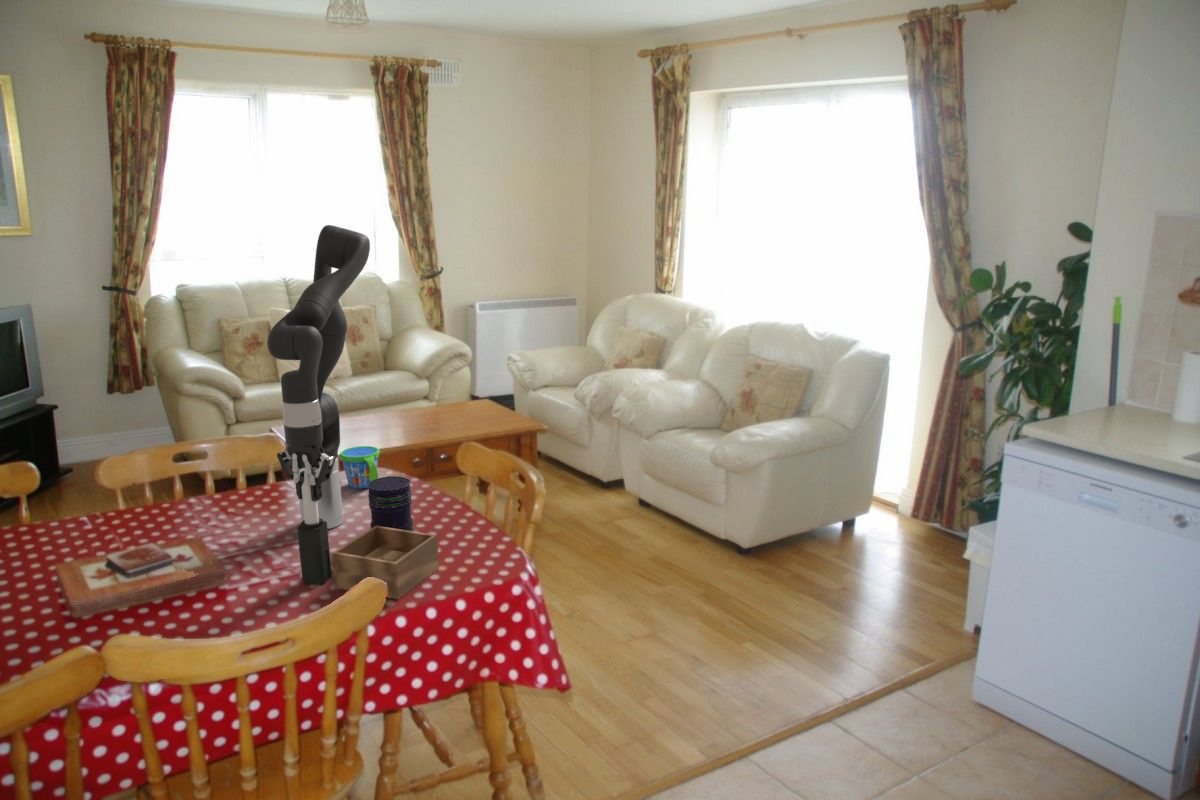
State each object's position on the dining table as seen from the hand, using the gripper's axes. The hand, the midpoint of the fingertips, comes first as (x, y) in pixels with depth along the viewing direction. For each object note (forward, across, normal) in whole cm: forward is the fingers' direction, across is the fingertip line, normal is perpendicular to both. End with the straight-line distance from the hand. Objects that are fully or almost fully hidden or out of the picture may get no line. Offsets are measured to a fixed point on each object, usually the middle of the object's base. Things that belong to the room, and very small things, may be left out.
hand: (309, 498), depth 191 cm
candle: (+19, 0, 0) cm, 19 cm away
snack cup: (+19, -27, +54) cm, 63 cm away
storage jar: (+19, +4, +23) cm, 30 cm away
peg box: (+19, +14, +6) cm, 24 cm away
